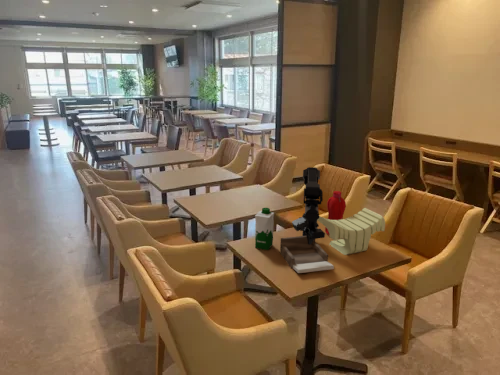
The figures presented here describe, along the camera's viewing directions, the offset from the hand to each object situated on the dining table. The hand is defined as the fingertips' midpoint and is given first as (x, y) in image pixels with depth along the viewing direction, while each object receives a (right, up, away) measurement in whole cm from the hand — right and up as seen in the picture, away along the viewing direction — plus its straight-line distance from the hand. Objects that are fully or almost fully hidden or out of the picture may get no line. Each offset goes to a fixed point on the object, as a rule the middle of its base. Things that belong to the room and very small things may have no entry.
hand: (309, 244), depth 175 cm
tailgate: (0, -9, 0) cm, 9 cm away
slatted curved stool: (+23, -5, +20) cm, 31 cm away
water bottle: (+20, 0, +37) cm, 42 cm away
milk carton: (-20, -5, +22) cm, 30 cm away
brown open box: (-2, -8, +8) cm, 12 cm away
